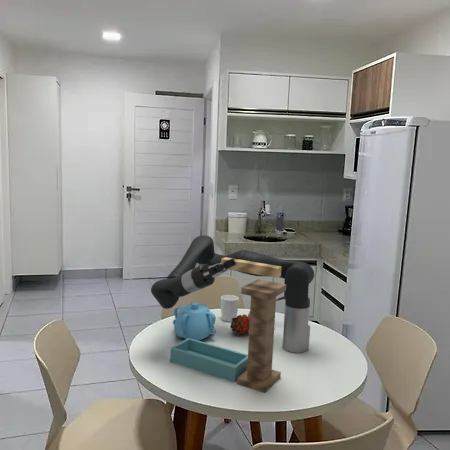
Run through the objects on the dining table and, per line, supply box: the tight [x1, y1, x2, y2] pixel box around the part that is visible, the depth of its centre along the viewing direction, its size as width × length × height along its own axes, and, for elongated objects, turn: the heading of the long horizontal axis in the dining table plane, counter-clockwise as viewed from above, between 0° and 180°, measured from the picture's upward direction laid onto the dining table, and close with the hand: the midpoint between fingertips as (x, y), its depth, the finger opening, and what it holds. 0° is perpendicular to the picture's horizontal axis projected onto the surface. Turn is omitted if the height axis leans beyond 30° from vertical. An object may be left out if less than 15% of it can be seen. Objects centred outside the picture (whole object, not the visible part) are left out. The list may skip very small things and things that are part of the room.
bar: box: [221, 257, 281, 279], centre depth 143 cm, size 20×3×3 cm, turn 59°
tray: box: [169, 338, 248, 383], centre depth 156 cm, size 26×11×5 cm, turn 60°
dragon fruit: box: [230, 313, 250, 336], centre depth 186 cm, size 8×8×12 cm
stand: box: [236, 278, 286, 394], centre depth 144 cm, size 10×12×32 cm
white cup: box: [220, 294, 240, 323], centre depth 201 cm, size 8×8×10 cm
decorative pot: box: [172, 302, 217, 341], centre depth 180 cm, size 16×16×14 cm
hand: (236, 260), depth 145 cm, fingers closed on bar, 3 cm apart
